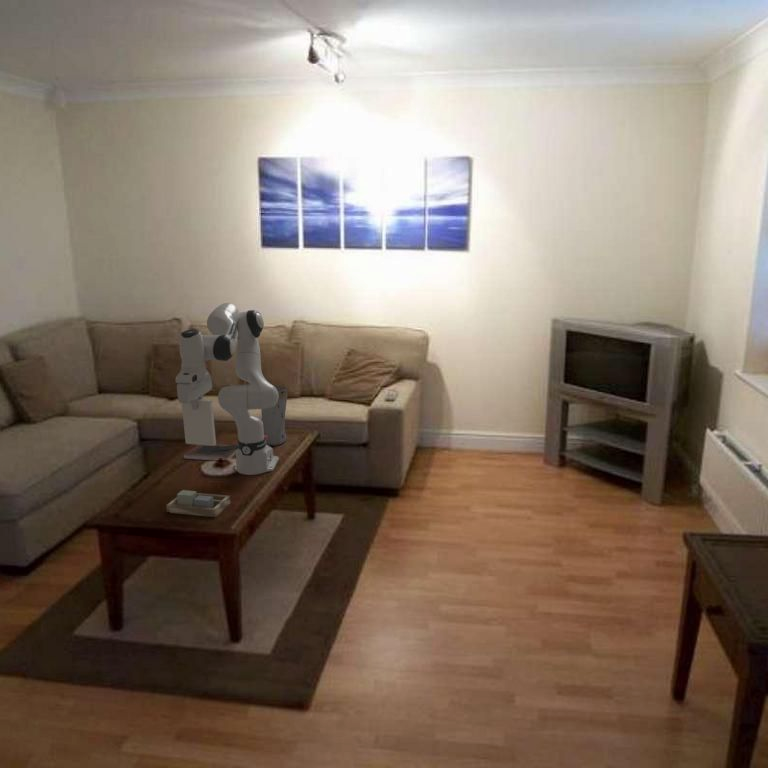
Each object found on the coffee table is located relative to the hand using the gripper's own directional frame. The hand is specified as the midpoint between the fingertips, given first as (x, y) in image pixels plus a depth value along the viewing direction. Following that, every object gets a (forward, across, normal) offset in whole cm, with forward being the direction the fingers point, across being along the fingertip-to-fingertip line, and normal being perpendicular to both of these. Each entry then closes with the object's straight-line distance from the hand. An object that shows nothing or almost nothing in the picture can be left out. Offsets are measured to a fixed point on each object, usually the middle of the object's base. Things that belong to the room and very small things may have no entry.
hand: (197, 408), depth 255 cm
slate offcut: (+39, +8, +3) cm, 40 cm away
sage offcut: (+39, +8, -4) cm, 40 cm away
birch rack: (+39, +6, 0) cm, 40 cm away
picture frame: (+40, -50, -22) cm, 67 cm away
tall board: (+15, 0, 0) cm, 15 cm away
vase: (+39, -70, +2) cm, 80 cm away
